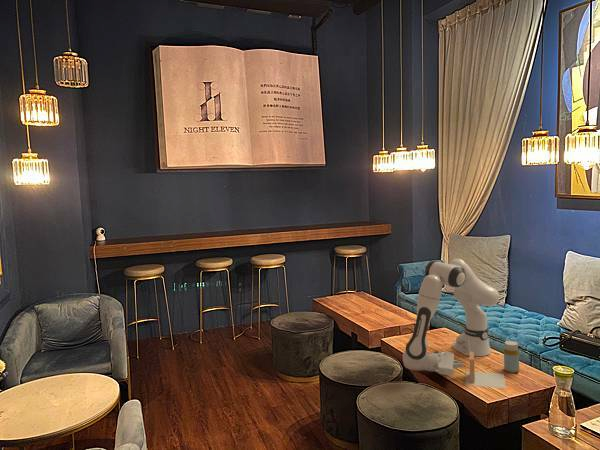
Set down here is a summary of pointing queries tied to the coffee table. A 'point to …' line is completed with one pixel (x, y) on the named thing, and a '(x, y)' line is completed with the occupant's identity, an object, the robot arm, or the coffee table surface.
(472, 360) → the tile
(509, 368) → the bottle
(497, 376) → the mat
